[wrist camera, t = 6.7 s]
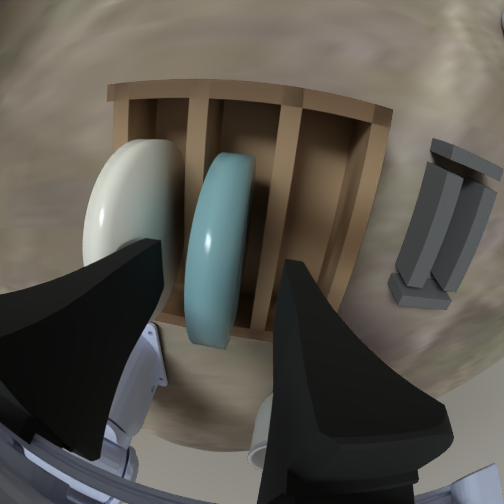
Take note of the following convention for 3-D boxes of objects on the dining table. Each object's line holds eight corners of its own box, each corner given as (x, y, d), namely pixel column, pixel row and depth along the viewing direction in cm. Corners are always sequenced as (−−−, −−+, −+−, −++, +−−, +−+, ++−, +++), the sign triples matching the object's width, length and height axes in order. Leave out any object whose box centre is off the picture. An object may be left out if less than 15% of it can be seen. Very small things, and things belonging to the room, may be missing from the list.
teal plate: (248, 254, 17) (223, 378, 12) (229, 251, 17) (197, 372, 12) (261, 128, 12) (221, 249, 6) (234, 125, 12) (169, 241, 6)
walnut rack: (318, 304, 19) (323, 347, 15) (151, 277, 19) (127, 313, 16) (366, 107, 12) (393, 109, 9) (146, 85, 13) (107, 84, 9)
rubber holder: (434, 289, 17) (446, 309, 15) (387, 282, 17) (397, 305, 15) (481, 158, 12) (503, 168, 10) (432, 137, 12) (454, 145, 10)
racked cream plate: (188, 262, 17) (135, 363, 10) (170, 259, 17) (111, 355, 10) (191, 130, 13) (98, 164, 6) (169, 129, 13) (66, 164, 6)
